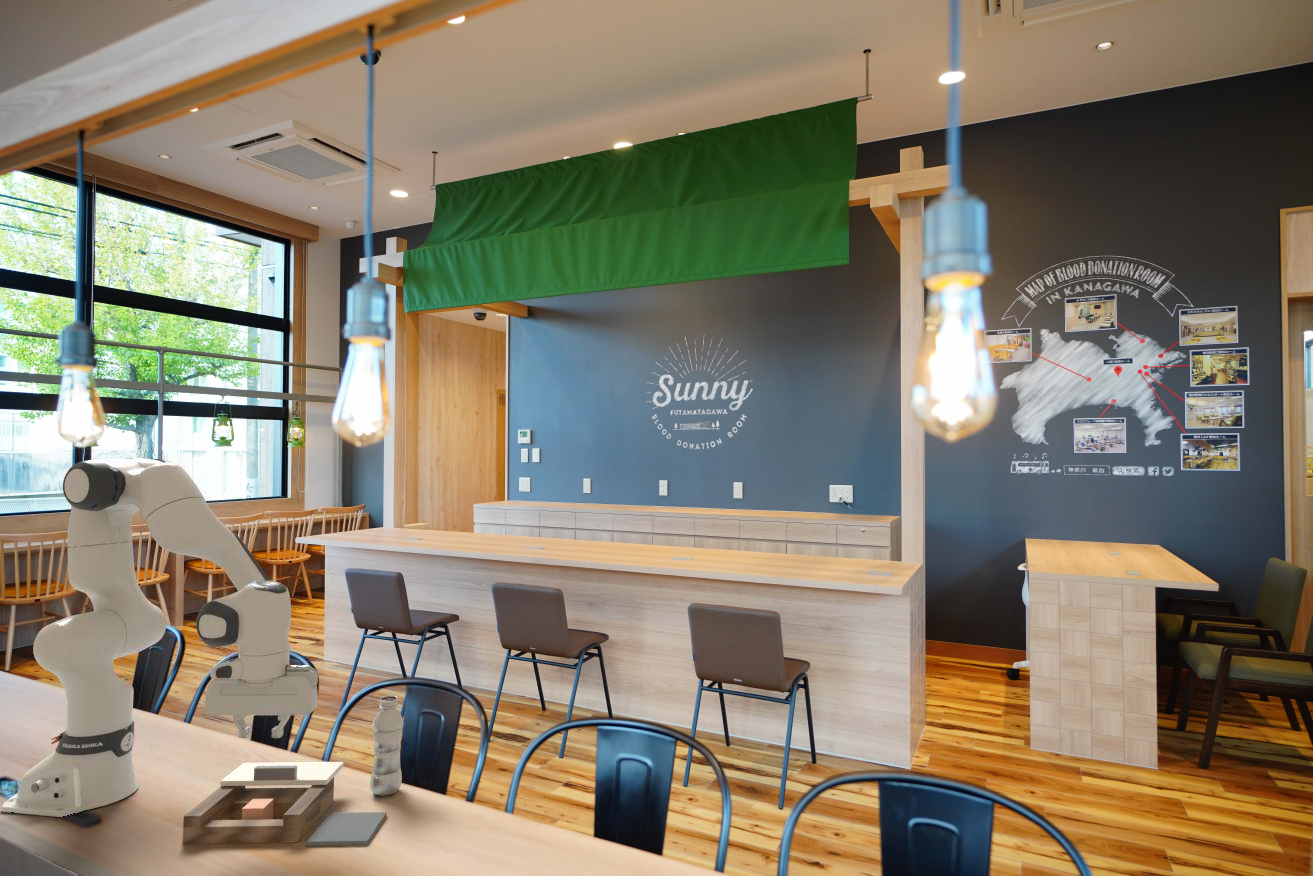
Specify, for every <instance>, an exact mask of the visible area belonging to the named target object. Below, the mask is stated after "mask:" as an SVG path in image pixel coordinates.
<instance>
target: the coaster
mask: <svg viewBox="0 0 1313 876" xmlns="http://www.w3.org/2000/svg"><path fill="white" fill-rule="evenodd" d="M387 814H388V813H387V811H380V812H379V811H377V812H376V811H375V812H373V811H372V812H370V811H369V812H366V811H365V812H330V813H329V814H328V815H327V817H326V818H324V820H323V822H321V824H320V825H319V826H318V827H317V828H316V830H315V831H314V832H313V833H312V834H311V836H310V837H309V838H307V839H308V840H306V847H329V846H330V847H331V846H332V847H333V846H336V847H339V846H368V845H369V843H370V841H371V840H372V838H373V837H374V835H375V834H376V833H377V831H378V829H379V828H380V826H381V825H382V823H383V822H384V821H385V820H386V818H387Z"/></svg>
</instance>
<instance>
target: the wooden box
mask: <svg viewBox="0 0 1313 876" xmlns="http://www.w3.org/2000/svg"><path fill="white" fill-rule="evenodd" d="M334 789H335V777H333V778H332V779H331V781H330V782H329V783H328V784H327V785H310V787H251V788H250V787H248V788H247V787H246V786H219V787H218V788H217V789H216V790H215V791H213V792H212V793H211V794H210V795H208V796H207V797H205V799H204V800H202V801H200V802H199V803H198V804H197V805H196V806H195V807H193V808H191V810H190V811H188V812H187V813H186V814H185V815H183V826H182V827H183V828H182V844H183V845H186V844H187V845H189V844H190V845H192V844H248V843H249V844H253V843H254V844H255V843H256V844H257V843H261V844H262V843H266V844H267V843H299V842H300V841H301V840H302V839H304V837H305V836H306V835H307V833H308V832H309V831H310V830H311V828H313V826H314V825H315V824H316V823H317V822H318V821H319V819H320V818H321V817H322V816H323V815H324V814H325V812H327V810H328V809H329V808H330V806H331V805H332V804H333V803H334V796H335V795H334V791H335V790H334ZM252 799H274V808H273V819H266V820H242V808H243V807H245V806H246V805H247V804H248V803H249V802H250V801H251V800H252ZM274 818H275V819H274ZM276 818H277V819H276ZM280 818H281V819H280Z"/></svg>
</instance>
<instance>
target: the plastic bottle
mask: <svg viewBox="0 0 1313 876" xmlns="http://www.w3.org/2000/svg"><path fill="white" fill-rule="evenodd" d="M378 706H379V708H378V709H379V711H378V712H377V714H376V716H375V717H374V719H373V721H372V724H371V725H372V730H371V731H372V736H373V754H374V755H373V763H372V771H371V775H370V780H369V785H370V790H371V792H372V794H374V795H376V796H378V797H379V796H381V797H383V796H390V795H393V794H395V793H397V792H398V791H399V790H400V788H401V786H402V780H403V776H402V768H401V755H400V751H401V742H402V741H401V740H402V734H403V728H404V719H403V718H404V717H403V716H402V714H401V713H400V712H399V710H398V709H397V708H398V706H399V704H398V697H397V696H395V695H386V696H383V697H381V698H380V699H379V705H378ZM376 777H377V778H376Z"/></svg>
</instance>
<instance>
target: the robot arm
mask: <svg viewBox="0 0 1313 876" xmlns="http://www.w3.org/2000/svg"><path fill="white" fill-rule="evenodd" d="M62 482H63V483H62V492H63V495H64V497H65V499H66V501H67V502H68V503H69V505H70V506H71V509H70V514H69V520H68V525H67V528H68V529H67V538H66V539H67V541H66V543H67V544H66V545H67V570H68V571H67V572H68V573H67V574H68V582H69V584H70V586H71V587H72V588H73V589H74V590H76V591H78V592H81V593H84V594H86V596H88V598H89V600H90V602H91V604H92V606H93V607H92V608H93V611H89V612H88V611H87V612H84V613H80V614H78V613H77V614H74V615H70V616H69V615H68V616H67V617H64V618H61V619H60V620H57V621H55V622H52V623H49V624H47V625H46V626H44V627H42V628H41V630H39V632H38V633H37V634H36V637H35V639H34V642H33V645H32V646H33V648H32V649H33V651H32V653H33V656H34V659H35V660H36V662H37V663H38V665H39V666H40V667H41V668H42V669H44V670H46V671H49V672H50V673H52V674H53V675H55V677H57V678H58V680H59V681H60V684H61V686H62V688H63V689H64V690H63V691H64V693H65V698H66V701H65V702H66V720H65V721H66V723H65V724H66V726H65V730H64V731H63V732H61V733H60V734H58V735H57V736H55V737H52V738H51V741H52V742H51V745H54V744H55V743H58V744H57V746H56V748H55V750H54V751H53V752H52V753H50V754H49V755H48V756H46V757H45V758H43V759H42V760H41V761H39V762H37V764H35V765H34V766H32V767H31V768H30V769H29V770H27V771H26V772H25V773H24V775H23V776H22V778H21V780H20V783H19V787H18V790H17V793H16V794H14V795H12V796H11V797H10V798H8V799H6V800H5V802H3V804H2V805H1V810H0V811H1V812H3V813H11V812H14V814H23V815H35V816H45V817H46V816H47V817H58V818H64V817H63V816H65V817H68V816H67V815H69V816H71V815H70V814H72V815H74V814H73V813H75V814H78V813H80V812H83V811H88V810H91V809H95V808H100V807H105V806H108V805H110V804H114V803H116V802H118V801H120V800H123V799H125V798H127V797H130V796H131V795H132V794H134V793H135V792H136V791H137V790H138V788H139V783H138V781H137V778H136V774H135V768H134V761H133V746H134V740H135V722H134V720H133V709H134V708H133V707H134V687H133V685H132V683H131V682H130V681H127V679H125V678H122V677H119V676H117V674H116V672H115V668H114V660H115V659H119V658H123V657H126V656H130V655H134V654H137V653H140V652H141V651H144V650H145V649H147V648H149V647H152V646H153V645H155V644H157V643H158V642H160V640H162V638H163V636H164V634H165V633H166V629H167V619H166V615H165V614H164V611H163V610H162V609H161V608H160V607H159V606H157V605H155V604H154V603H152V602H151V601H150V600H148V598H147V597H146V595H145V594H144V593H143V591H142V590H141V587H140V585H139V583H138V579H137V576H136V569H135V560H134V545H133V544H134V543H133V541H134V540H133V529H132V521H133V518H134V516H135V514H136V513H138V512H139V511H140V513H141V516H142V517H143V520H144V522H145V525H146V527H147V529H148V531H149V533H150V535H151V537H152V538H153V540H154V541H155V542H156V543H157V545H159V546H160V547H161V548H162V549H164V550H165V551H168V552H170V553H173V554H176V555H182V556H186V557H194V558H198V559H202V560H204V561H208V562H211V563H213V564H215V565H217V566H219V568H221V569H222V570H223V571H224V573H225V574H226V576H227V577H228V578H229V580H230V581H231V582H232V584H233V586H234V588H236V590H237V591H236V592H234V593H233V592H232V594H231V593H230V594H228V595H225V596H222V597H219V598H215V599H213V600H211V601H208V602H206V603H205V604H203V606H202V607H201V608H200V610H199V611H198V614H197V617H196V622H195V623H196V625H195V627H196V633H197V635H198V638H199V639H200V640H201V642H203V643H204V644H205V645H207V646H208V647H211V648H225V647H229V646H232V645H234V646H237V647H238V656H237V657H234V658H231V659H228V660H226V661H223V662H221V663H219V664H217V665H215V666H213V667H212V668H211V669H210V673H209V674H210V678H211V680H210V681H209V683H208V684H207V687H206V692H205V697H204V711H205V712H206V714H207V715H208V716H213V717H214V716H232V721H233V723H234V725H235V726H236V728H237V730H238V739H246V738H247V739H248V738H249V737H250V736H251V733H252V731H251V730H252V726H251V725H249V726H248V725H247V723H246V721H245V719H244V718H246V717H247V716H277V721H280V722H279V723H278V725H276V726H274V727H273V728H271V738H272V739H273V738H274V739H280V738H282V737H283V735H284V728H285V725H286V724H287V723H288V721H289V719H290V718H291V716H307V715H309V714H311V713H312V712H314V711H315V710H316V709H317V707H318V704H319V703H318V702H319V700H318V699H319V696H318V686H317V685H318V682H319V681H318V680H319V671H317V669H316V668H314V667H312V666H311V665H309V664H306V665H305V664H304V665H298V664H296V665H295V664H293V665H292V664H290V653H291V652H290V651H291V645H290V642H289V632H290V630H291V625H292V604H291V595H290V592H289V589H288V587H287V586H286V585H285V584H283V583H281V582H279V581H274V580H270V578H269V577H268V575H267V574H266V573H265V571H264V570H263V568H262V567H261V566H260V564H259V563H258V561H257V559H256V558H255V557H254V556H253V554H252V553H251V551H250V550H249V548H248V547H247V546H246V544H245V543H244V541H243V540H242V539H241V537H239V535H238V534H237V533H236V532H235V531H233V530H232V529H231V528H230V527H228V526H226V525H225V524H224V523H223V522H222V521H221V520H220V519H219V518H218V517H217V515H216V514H215V513H214V511H213V510H212V509H211V508H210V505H208V503H207V502H206V499H205V496H203V493H202V492H201V490H200V489H199V487H198V485H197V484H196V482H195V481H194V480H193V478H192V477H191V475H190V474H189V473H188V472H187V471H186V470H185V469H184V468H183V467H182V466H181V465H179V464H177V463H174V462H172V461H169V460H166V459H161V458H154V459H152V458H151V459H150V458H142V457H141V458H140V457H124V458H110V459H96V458H95V459H89V460H87V459H86V460H83V461H80V462H77V463H74V464H73V465H71V467H69V469H68V470H67V471H66V473H65V475H64V478H63V481H62Z"/></svg>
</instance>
